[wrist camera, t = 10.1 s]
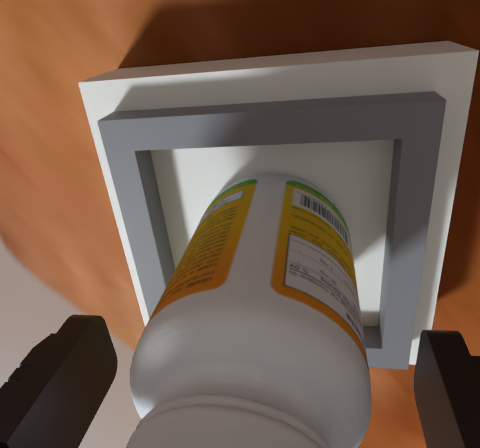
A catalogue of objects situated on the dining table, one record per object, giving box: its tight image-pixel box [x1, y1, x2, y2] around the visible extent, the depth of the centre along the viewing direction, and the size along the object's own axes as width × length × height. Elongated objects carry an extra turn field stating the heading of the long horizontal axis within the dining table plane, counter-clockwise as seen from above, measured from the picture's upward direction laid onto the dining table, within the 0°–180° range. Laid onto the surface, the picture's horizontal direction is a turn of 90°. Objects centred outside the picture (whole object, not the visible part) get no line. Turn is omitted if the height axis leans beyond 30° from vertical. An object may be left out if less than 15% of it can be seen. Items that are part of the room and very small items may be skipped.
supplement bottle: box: [126, 173, 372, 448], centre depth 11 cm, size 5×5×10 cm
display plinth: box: [78, 41, 479, 370], centre depth 16 cm, size 12×12×4 cm
